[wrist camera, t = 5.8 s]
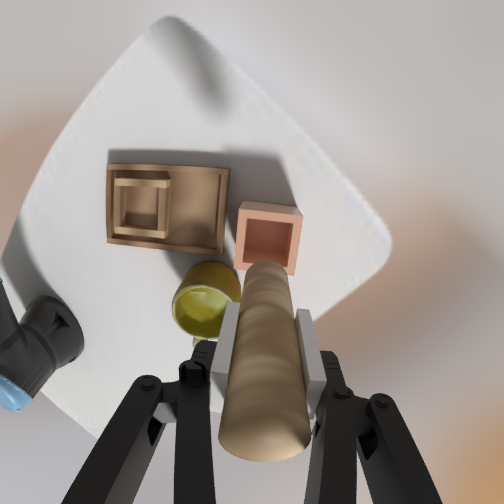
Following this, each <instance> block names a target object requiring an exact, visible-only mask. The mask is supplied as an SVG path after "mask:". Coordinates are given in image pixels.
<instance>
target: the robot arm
mask: <svg viewBox="0 0 504 504" xmlns="http://www.w3.org/2000/svg"><path fill="white" fill-rule="evenodd" d="M2 282H3V281H2V279H1V278H0V406H2V407H3V408H5V409H7V410H9V411H11V412H21V411H22V410H23V409H24V408H25V407H26V406H27V405H28V404H29V403H30V402H32V399H33V398H34V397H35V395H36V394H37V393H38V391H39V390H40V389H41V388H42V386H43V385H44V384H45V383H46V381H47V380H48V379H49V378H50V376H51V375H52V374H53V373H54V372H55V370H56V369H58V368H60V367H62V366H64V365H66V364H68V363H70V362H73V361H74V360H76V359H77V357H78V356H79V355H80V354H81V353H82V351H83V348H84V337H83V333H82V330H81V328H80V326H79V324H78V322H77V320H76V319H75V317H74V316H73V314H72V313H71V312H70V311H69V310H68V309H67V308H66V307H65V306H64V305H63V304H62V303H61V302H59V301H58V300H56V299H54V298H52V297H49V296H40V297H38V298H36V299H35V300H34V301H32V302H31V303H30V304H29V305H28V307H27V309H26V312H25V314H24V315H23V317H22V319H21V320H20V322H19V324H18V321H17V319H16V317H15V314H14V312H13V310H12V307H11V305H10V302H9V300H8V297H7V294H6V292H5V289H4V286H3V284H2ZM239 310H240V303H238V302H230V301H228V303H227V307H226V311H225V314H224V318H223V322H222V326H221V330H220V334H219V338H218V342H215V341H208V340H200V341H199V342H198V343H197V344H196V345H195V348H194V351H193V354H192V357H191V359H190V360H187V361H184V362H183V363H181V364H180V366H179V380H178V381H175V382H168V383H162V382H161V380H160V379H159V378H158V377H155V376H153V375H143V376H140V377H138V378H137V379H136V380H135V381H134V383H133V384H132V386H131V387H130V389H129V391H128V392H127V394H126V395H125V397H124V399H123V400H122V402H121V403H120V405H119V407H118V408H117V410H116V411H115V413H114V415H113V416H112V418H111V420H110V421H109V423H108V425H107V426H106V428H105V429H104V431H103V433H102V434H101V436H100V438H99V439H98V441H97V443H96V444H95V446H94V448H93V449H92V451H91V453H90V454H89V456H88V458H87V460H86V461H85V463H84V465H83V466H82V468H81V470H80V471H79V473H78V475H77V476H76V478H75V480H74V482H73V483H72V485H71V487H70V489H69V490H68V492H67V494H66V496H65V497H64V499H63V501H62V503H61V504H132V503H133V501H134V498H135V496H136V494H137V492H138V489H139V487H140V484H141V482H142V480H143V477H144V475H145V473H146V470H147V468H148V466H149V463H150V461H151V459H152V456H153V454H154V452H155V449H156V447H157V445H158V442H159V440H160V437H161V435H162V433H163V431H164V428H165V426H166V424H167V423H174V422H177V423H176V441H175V465H174V504H216V499H215V487H214V474H213V459H212V445H211V444H212V443H211V425H210V411H213V412H220V413H222V410H223V404H224V398H225V392H226V389H227V384H228V378H229V372H230V366H231V360H232V354H233V348H234V342H235V336H236V330H237V324H238V318H239ZM295 325H296V331H297V338H298V344H299V351H300V357H301V364H302V371H303V378H304V385H305V392H306V399H307V406H308V414H309V419H313V418H314V415H315V412H316V419H317V420H316V422H315V425H314V427H313V430H312V432H311V435H313V441H312V450H311V458H310V466H309V473H308V480H307V487H306V493H305V500H304V504H356V490H357V488H356V487H357V485H356V484H357V452H358V456H359V459H360V462H361V465H362V468H363V471H364V475H365V478H366V481H367V484H368V487H369V491H370V494H371V498H372V501H373V504H443V503H442V502H441V499H440V496H439V494H438V492H437V489H436V487H435V485H434V483H433V481H432V478H431V476H430V474H429V472H428V469H427V467H426V465H425V463H424V461H423V459H422V456H421V455H420V452H419V450H418V448H417V446H416V444H415V442H414V440H413V438H412V436H411V434H410V432H409V430H408V428H407V426H406V424H405V422H404V420H403V418H402V416H401V414H400V412H399V410H398V408H397V406H396V404H395V402H394V400H393V399H392V398H391V397H390V396H388V395H386V394H382V393H377V394H374V395H372V397H371V398H370V399H366V398H361V397H358V396H355V395H354V394H353V391H352V390H351V389H350V388H348V387H347V386H346V384H345V381H344V378H343V374H342V371H341V369H340V365H339V361H338V358H337V356H336V355H335V354H334V353H333V352H332V351H320V350H319V346H318V342H317V339H316V334H315V330H314V326H313V322H312V318H311V315H310V311H309V310H308V309H297V313H296V318H295Z"/></svg>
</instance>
